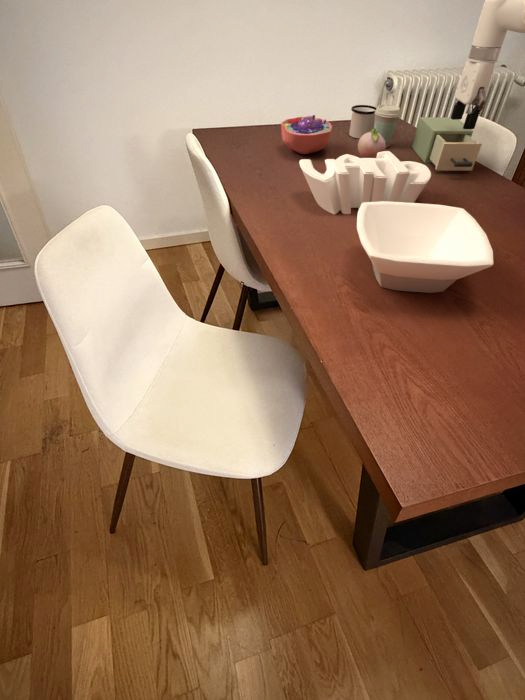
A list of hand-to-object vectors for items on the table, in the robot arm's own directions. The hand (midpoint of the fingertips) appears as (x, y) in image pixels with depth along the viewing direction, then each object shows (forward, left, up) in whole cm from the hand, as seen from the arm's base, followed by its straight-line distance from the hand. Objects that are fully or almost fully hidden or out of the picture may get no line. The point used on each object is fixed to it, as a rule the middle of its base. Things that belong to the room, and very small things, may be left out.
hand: (462, 123), depth 121 cm
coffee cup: (+17, -20, -13) cm, 29 cm away
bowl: (+30, +60, -13) cm, 69 cm away
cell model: (+45, -14, -13) cm, 49 cm away
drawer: (0, +1, -12) cm, 12 cm away
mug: (+22, -32, -13) cm, 41 cm away
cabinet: (0, -11, -13) cm, 16 cm away
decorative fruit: (+25, -4, -13) cm, 29 cm away
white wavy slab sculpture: (+33, +25, -13) cm, 44 cm away
